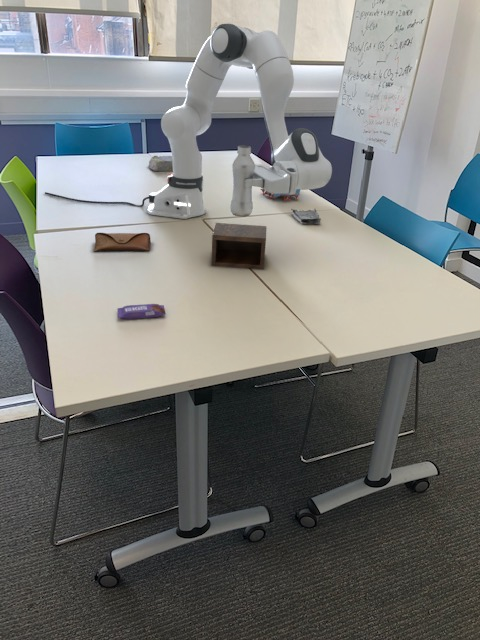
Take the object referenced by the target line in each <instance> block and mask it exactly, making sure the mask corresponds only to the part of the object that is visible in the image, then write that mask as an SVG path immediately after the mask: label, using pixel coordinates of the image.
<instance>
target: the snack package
mask: <svg viewBox="0 0 480 640" xmlns="http://www.w3.org/2000/svg"><path fill="white" fill-rule="evenodd" d="M116 309H117V319H124V320H138V319H151V318H159V317H161V316H166V315H167V313H166V309H165V305H164V304H159V303H146V304H131V305H125V306H122V307H117V308H116Z"/></svg>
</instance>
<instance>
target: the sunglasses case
mask: <svg viewBox="0 0 480 640" xmlns="http://www.w3.org/2000/svg"><path fill="white" fill-rule="evenodd" d="M94 241H95V242H94V248H93V251H94V252H145V251H150V250H151V248H152V242H151V234H150V233H148V232H139V233H133V232H132V233H131V232H114V233H113V232H111V233H110V232H109V233H106V232H96V233H95V234H94Z"/></svg>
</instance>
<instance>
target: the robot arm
mask: <svg viewBox="0 0 480 640" xmlns="http://www.w3.org/2000/svg"><path fill="white" fill-rule="evenodd" d="M232 66H236V67H241V68H247V69H249V70H253V71H254V74H255V78H256V81H257V84H258V88H259V93H260V98H261V107H262V115H263V119H264V123H265V128H266V131H267V136H268V140H269V145H270V151H271V152H270V153H271V154H270V163H271V166H268V165H265V164H260V163H257V164H255V163H254V164H255V170H254V176H253V179H250V178H249V179H245V180H244V184H245V185H246V186H252V187H257V188H260V189H264V190H265V191H267V192H269V193H274V194H285V193H287V194H289V195H294V194H295V193H296V190H297V189H301V190H300V191H308V190H309V191H310V190H317V189H321V188H323V187H325V186H326V185H327V184H328V183H329V182H330V181H331V178H332V174H333V167H332V164H331V162H330V161H329V160H328V159H327V158H326V157H325V156H324V155H323V153H322V151H321V148H320V147H319V142H318V138H317V137H316V135H315V134H314V133H313V131H311V130H310V129H307V128H303V127H299V128H296V129H294V130H293V131H292V132H291V133H290V134H288V130H287V125H286V121H285V113H286V112H285V111H286V107H287V103H288V100H289V98H290V95H291V93H292V91H293V88H294V85H295V77H294V71H293V67H292V65H291V61H290V58H289V55H288V54H287V51H286V49H285V46H284V45H283V43H282V40H281V39H280V38H279V36H278V34H277V33H276V32H275V31H273V30H263V31H259V32H256V31H254V30H252V29H251V28H248V27H243V26H239V25H236V24H233V23H221V24H219V25H217V26H216V27H215V29H213V32H212V34H211V35H210V36H209V37H208V38H207V40H206V41H205V42H204V44H203V45H202V47H201V49H200V50H199V52H198V55H197V57H196V59H195V61H194V64H193V67H192V68H191V71H190V73H189V76H188V79H187V80H186V84H185V88H186V95H185V100H184V102H183V104H182V105H179V106H174V107H172V108H171V109H169V110H168V111H166V112H165V113H164V114H163V115H162V117H161V120H160V126H161V131H162V132H163V135H164V136H165V137H166V138H167V140H168V143H169V147H170V150H171V156H172V162H173V171H172V172H169V174H168V175H167V184H166V185H165V186H164V187H162V188H161V189H160V190H158V191H157V192H153V191H152V192H151V193H150V194H148V196H146V197H144V198H143V199H142V203H141V204H140V205H137V204H135V203H131V202H129V201H96V200H95V201H94V200H84V199H77V198H72V197H67V196H63V195H59V194H54V193H50V192H46V191H45V192H44V194H45V195H48V196H52V197H56V198H61V199H64V200H68V201H74V202H78V203H85V204H86V203H87V204H101V205H103V204H106V205H116V204H117V205H122V204H123V205H129V206H133V207H138V208H142V207H144V206H145V201H147V200H148V203H150V204H149V206H148V208H147V214H148V215H151V216H159V217H164V218H165V217H167V218H173V219H180V220H181V219H182V220H186V219H190V218H196V217H200V216H202V215H204V214H206V211H207V210H206V208H205V204H204V197H203V190H204V176H203V155H202V153H201V151H200V150H199V147H198V141H197V137H198V136H200V135H202V134H204V133H205V132H206V131H207V130H208V129H209V128H210V126H211V125H212V112H213V108H214V104H215V100H216V98H217V96H218V93H219V91H220V89H221V87H222V85H223V82H224V80H225V78H226V76H227V73H228V71H229V70H230V67H232ZM265 191H264V192H265Z"/></svg>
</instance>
